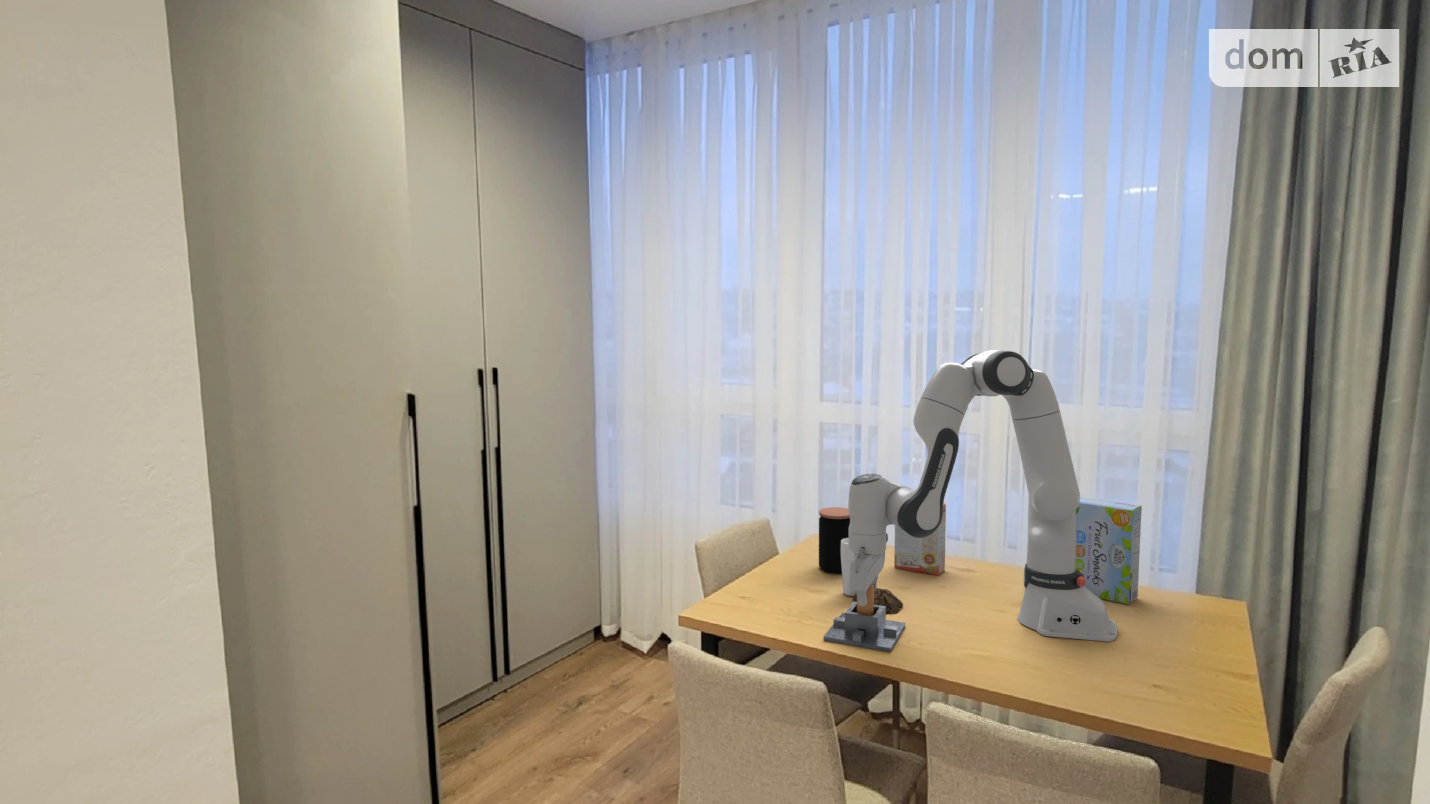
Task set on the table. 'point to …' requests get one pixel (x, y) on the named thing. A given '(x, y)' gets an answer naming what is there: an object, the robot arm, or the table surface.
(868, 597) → the rounded pin
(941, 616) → the table surface
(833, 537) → the coffee jar
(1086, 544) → the snack box
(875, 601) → the bread roll
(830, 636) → the hollow box on baseplate
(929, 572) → the cracker box
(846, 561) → the drinking glass
